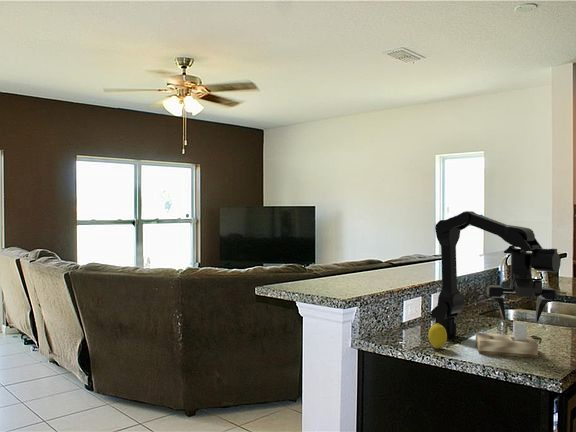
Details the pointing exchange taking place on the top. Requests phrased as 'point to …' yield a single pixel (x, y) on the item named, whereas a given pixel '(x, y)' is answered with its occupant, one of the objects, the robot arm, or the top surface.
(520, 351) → the socket block
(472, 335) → the top surface
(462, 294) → the robot arm
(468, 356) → the top surface
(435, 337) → the lemon
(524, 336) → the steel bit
